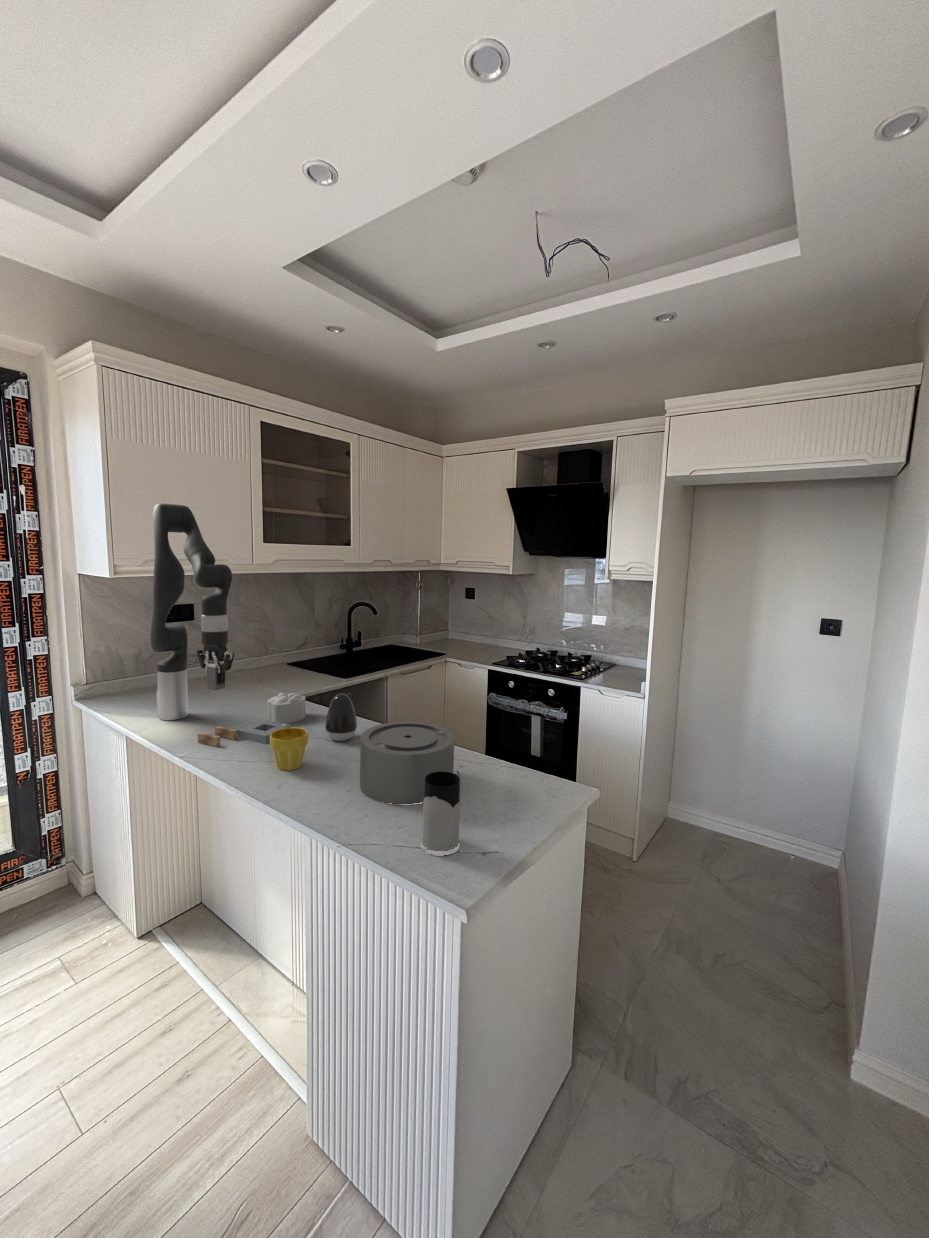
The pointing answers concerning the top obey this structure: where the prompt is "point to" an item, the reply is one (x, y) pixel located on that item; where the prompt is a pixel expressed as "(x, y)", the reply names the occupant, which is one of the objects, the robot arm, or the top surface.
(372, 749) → the container
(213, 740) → the pair of wooden planks
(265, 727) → the port
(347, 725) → the dark grey egg shape
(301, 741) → the plant pot
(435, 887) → the top surface
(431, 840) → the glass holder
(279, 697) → the white lumpy box
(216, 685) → the plug
